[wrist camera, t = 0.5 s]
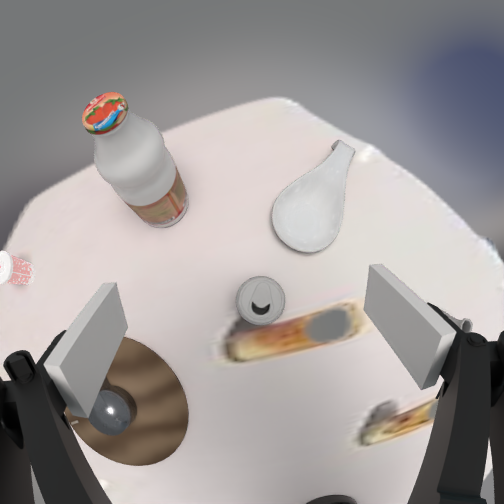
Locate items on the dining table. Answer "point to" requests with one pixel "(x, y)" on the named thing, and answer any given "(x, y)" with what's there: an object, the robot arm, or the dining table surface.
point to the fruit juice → (135, 161)
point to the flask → (461, 323)
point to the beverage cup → (15, 270)
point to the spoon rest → (314, 203)
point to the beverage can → (260, 300)
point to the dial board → (141, 409)
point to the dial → (112, 410)
